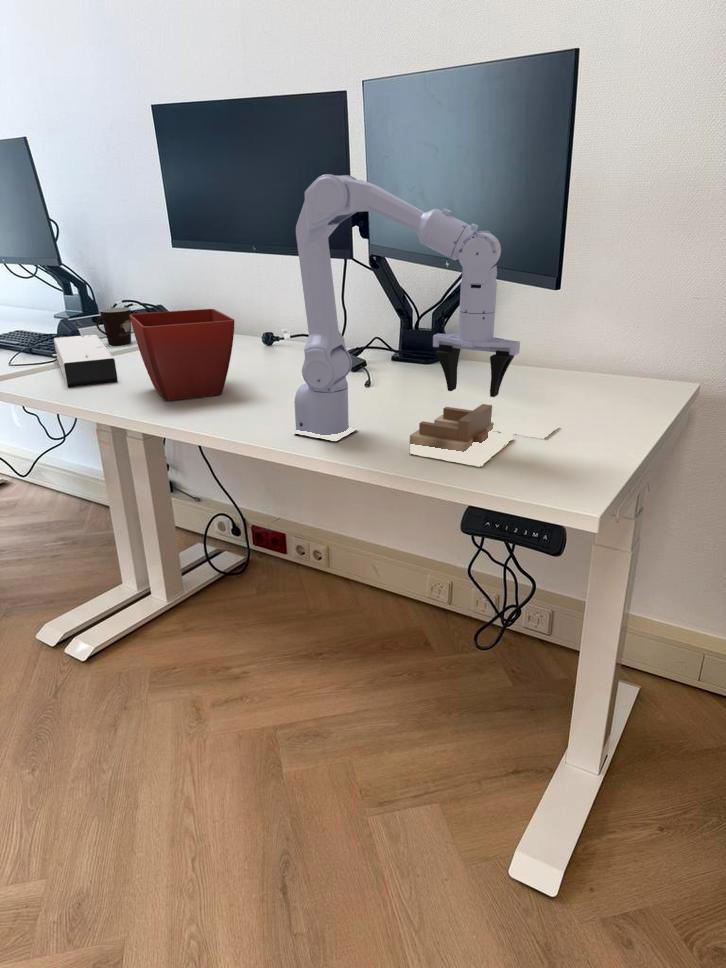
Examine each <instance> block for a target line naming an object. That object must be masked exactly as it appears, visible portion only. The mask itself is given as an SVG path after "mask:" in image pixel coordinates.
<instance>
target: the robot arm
mask: <svg viewBox="0 0 726 968" xmlns="http://www.w3.org/2000/svg"><path fill="white" fill-rule="evenodd" d="M300 210H301V211H300V214H299V216H298V219H297V222H296V225H295V238H296V245H297V253H298V260H299V267H300V268H299V269H300V276H301V283H302V284H301V285H302V293H303V299H304V305H305V315H306V322H307V331H308V337H307V340H306V343H305V346H304V349H303V350H304V351H303V352H304V360H303V365H302V368H301V374H302V377H303V381H304V382H305V383H304V384H301V385H300V386H299V387H298V388H297V390H296V391H295V396H294V414H295V415H294V417H295V431H296V430H300V431H307V432H312V433H315V434H320V435H331V434H338V433H341V432H344V431H346V430H347V429H348V428H349V425H350V424H349V423H350V422H349V383H348V381H347V375H349V373H350V372H351V370H352V365H353V361H352V357H351V354H350V353H349V351H348V350H347V347H346V342H345V338H344V336H343V334H341V331H340V330H339V323H338V314H337V313H338V312H337V305H336V297H335V287H334V278H333V277H334V276H333V269H332V260H331V252H330V244H329V237H330V236H331V235H332V234H333V232H334V231H335V230H336V228H338V226H339V225H340V224H341V223H343V221H345V220H347V219H349V218H350V217H351V216H353V215H354V214H356V213H358V212H373V213H375V214H377V215H379V216H381V217H383V218H387V219H388V220H390V221H392V222H395V223H396V224H399V225H401V226H404V227H405V228H408V229H410V230H412V231H414V232H415V233H416V235H417V238H418V241H419V243H420V244H421V245H423V246H425V247H428V248H429V249H431V250H433V251H435V252H437V253H439V254H441V255H443V256H445V257H447V258H448V259H451V260H452V261H457V260H458V261H459V264H460V265H461V267H462V270H461V281H460V292H459V293H460V295H459V296H460V297H459V311H458V312H459V314H458V334H457V333H455V334H454V333H451V334H449V333H436V334H434V335H433V336H432V347H433V348H438V349H437V350H436V351H435V356H436V358H437V359H438V361H439V363H440V365H441V368H442V371H443V374H444V377H445V382H446V387H447V388H446V389H447V392H453V391H454V390H456V389H457V386H458V385H457V384H458V366H459V365H458V363H459V358H460V353H461V350H469V351H480V352H487V353H488V352H489V353H494V354H492V355H490V357H489V363H490V385H489V388H490V389H489V397H490V398H495V397H497V396H499V392H500V388H501V385H502V381H503V378H504V376H505V374H506V373H507V370H508V368H509V366H510V365H511V363H512V361H513V359H514V357H515V356H517V355H519V354H520V347H521V346H520V345H521V341H519V340H512V339H504V338H500V337H495V336H494V333H495V331H494V330H495V317H496V316H495V314H496V304H497V288H498V287H497V286H498V283H497V277H498V268H497V267H498V266H497V265H496V264H497V263H498V261H499V259H500V257H501V254H502V246H501V243H500V241H499V239H498V238H497V237H496V236H495V235H494V234H492V233H491V231H489V230H481V231H478V229H479V225H478V224H475V223H471V224H468V223H466V222H465V221H463V220H461V219H459V218H456V217H455V216H452V213H453V211H452V210H450V209H447V208H442V210H441V209H438V208H434V209H431V210H429V211H426V212H425V211H424V210H421V209H420V208H418V207H416V206H415V205H412V204H411V203H409V202H407V201H405V200H403V199H402V198H400V197H398V196H396V195H394V194H392V193H390V192H389V191H387V190H385V189H384V188H382V187H380V186H378V185H376V184H373V183H371V182H368V181H365V180H362V179H357V178H356V177H354V176H352V175H350V174H349V175H348V174H344V175H343V174H342V175H334V174H331V173H330V174H322V175H320V176H318V177H317V178H316V179H315V180H314V181H313V182H312V183H311V184H310V185H309V186H308V187H307V188H306V190H304V202H303V204H302V207H301V209H300Z"/></svg>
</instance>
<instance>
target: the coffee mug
mask: <svg viewBox="0 0 726 968" xmlns="http://www.w3.org/2000/svg"><path fill="white" fill-rule="evenodd" d="M99 314H100V317H98V318H97V319H96V321H95V323H96V329H98V331H99V332H100V333H102V334H103V335H105V336H106V339H107V343H108V346H110V345H111V346H110V347H122V346H121V345H124V346H128V344H129V345H131V344H132V323H131V319H130V314H132V312H131V308H129V307H108V308H103V309H102V308H101V309H100V310H99ZM100 321H102V323H103V324H102V325H103V328H104V330H102V329H101V327H100V326H99V322H100Z"/></svg>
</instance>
